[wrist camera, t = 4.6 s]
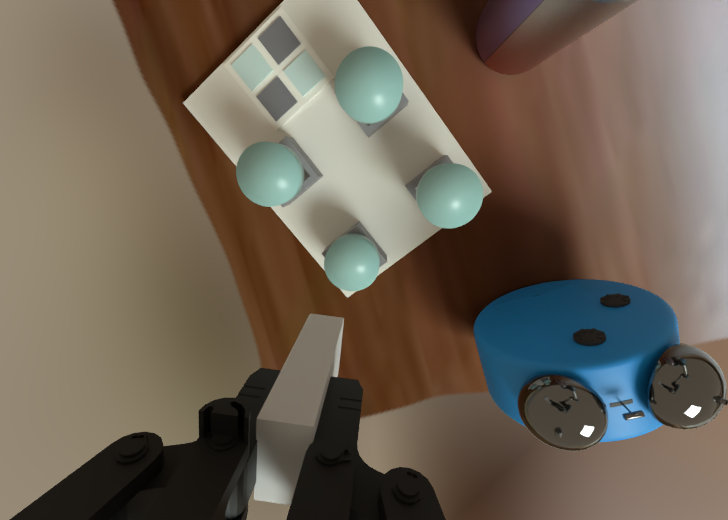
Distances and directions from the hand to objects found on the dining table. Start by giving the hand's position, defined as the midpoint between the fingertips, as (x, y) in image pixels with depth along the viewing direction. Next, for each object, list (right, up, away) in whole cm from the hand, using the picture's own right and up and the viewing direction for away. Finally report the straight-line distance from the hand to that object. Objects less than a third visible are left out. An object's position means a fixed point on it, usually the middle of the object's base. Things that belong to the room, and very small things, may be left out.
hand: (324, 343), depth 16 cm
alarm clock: (+18, -1, +18) cm, 26 cm away
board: (0, +13, +15) cm, 20 cm away
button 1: (+2, +16, +11) cm, 19 cm away
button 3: (+8, +9, +12) cm, 17 cm away
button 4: (+1, +4, +16) cm, 17 cm away
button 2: (-5, +11, +13) cm, 17 cm away
